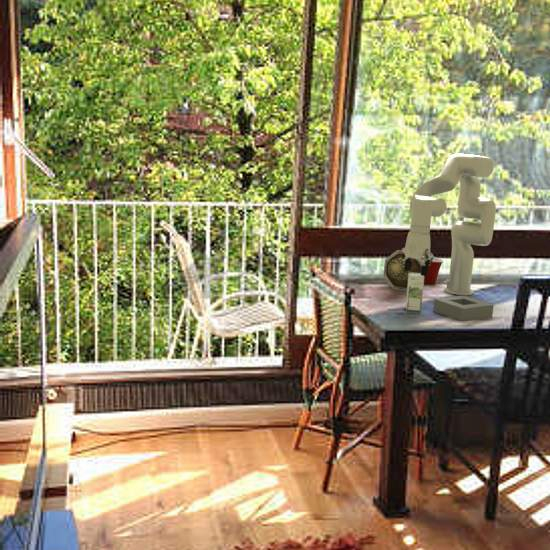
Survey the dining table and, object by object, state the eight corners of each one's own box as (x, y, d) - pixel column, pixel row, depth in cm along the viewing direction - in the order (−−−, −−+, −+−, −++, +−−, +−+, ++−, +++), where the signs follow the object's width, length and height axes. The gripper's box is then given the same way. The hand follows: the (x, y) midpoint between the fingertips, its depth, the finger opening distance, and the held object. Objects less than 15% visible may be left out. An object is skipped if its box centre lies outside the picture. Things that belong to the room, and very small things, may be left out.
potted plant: (392, 250, 352) (378, 243, 323) (431, 256, 345) (420, 250, 317) (385, 288, 352) (371, 284, 323) (424, 295, 345) (413, 292, 317)
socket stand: (433, 311, 303) (434, 298, 302) (462, 307, 312) (464, 295, 311) (462, 321, 290) (463, 308, 289) (492, 317, 298) (493, 304, 297)
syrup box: (419, 308, 307) (422, 272, 304) (421, 311, 302) (424, 275, 298) (405, 307, 308) (408, 271, 305) (406, 310, 302) (409, 274, 299)
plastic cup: (443, 286, 349) (446, 260, 346) (419, 285, 349) (422, 259, 346) (439, 281, 359) (441, 256, 357) (416, 280, 360) (418, 255, 357)
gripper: (398, 226, 303) (394, 269, 306) (427, 233, 289) (423, 277, 292) (412, 226, 307) (408, 268, 310) (442, 233, 292) (438, 276, 296)
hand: (415, 273), depth 301 cm, fingers open, 9 cm apart
